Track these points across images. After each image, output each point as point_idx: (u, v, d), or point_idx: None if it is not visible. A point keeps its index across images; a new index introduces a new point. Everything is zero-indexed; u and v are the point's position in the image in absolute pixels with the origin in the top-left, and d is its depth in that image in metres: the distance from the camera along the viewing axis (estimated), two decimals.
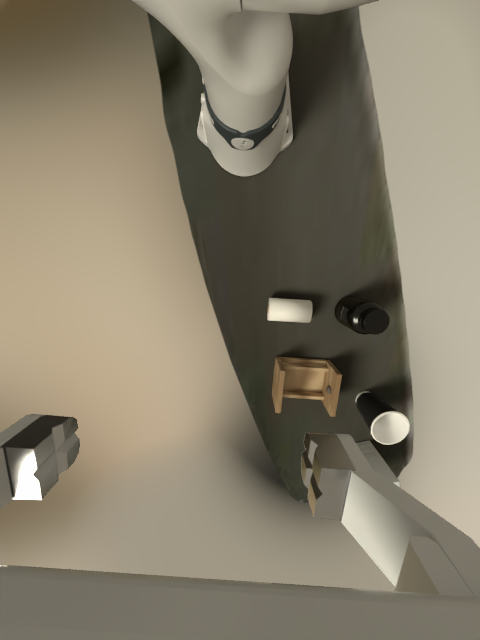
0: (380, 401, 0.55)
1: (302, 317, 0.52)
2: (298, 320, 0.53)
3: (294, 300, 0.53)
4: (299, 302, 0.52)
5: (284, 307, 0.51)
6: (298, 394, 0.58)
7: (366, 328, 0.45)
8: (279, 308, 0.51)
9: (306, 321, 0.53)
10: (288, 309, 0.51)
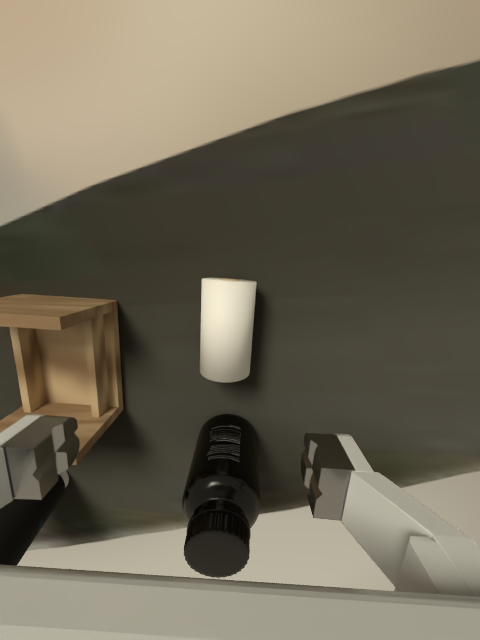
0: (35, 527, 0.25)
1: (211, 361, 0.22)
2: (204, 351, 0.22)
3: (250, 339, 0.23)
4: (246, 351, 0.22)
5: (235, 318, 0.21)
6: (25, 357, 0.24)
7: (198, 536, 0.17)
8: (232, 306, 0.20)
9: (202, 367, 0.23)
10: (230, 329, 0.21)
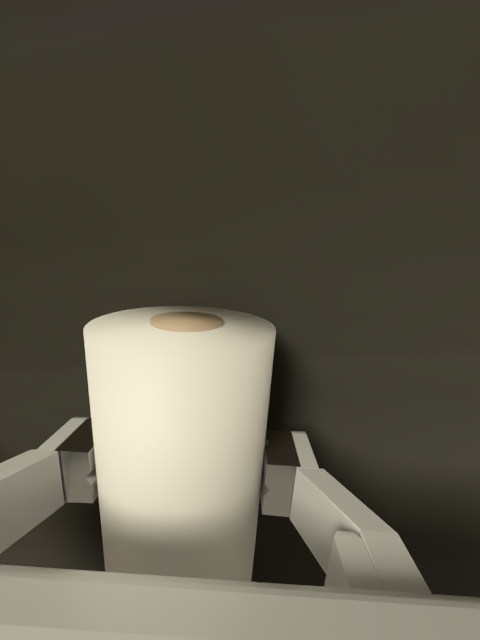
0: None
1: None
2: (106, 557, 0.07)
3: (256, 502, 0.07)
4: (245, 550, 0.07)
5: (203, 483, 0.05)
6: None
7: None
8: (191, 445, 0.05)
9: None
10: (186, 521, 0.05)
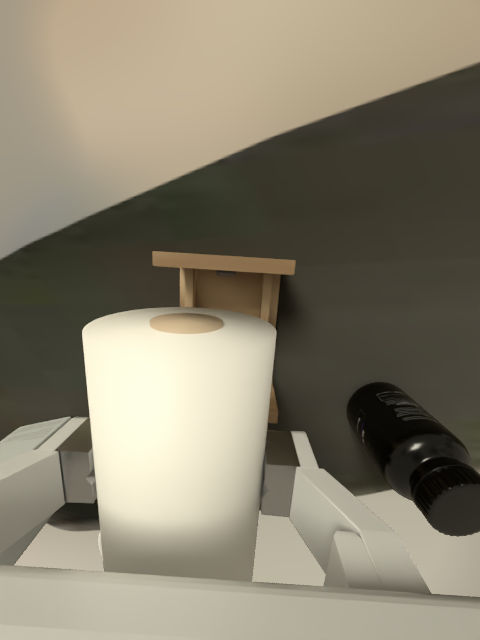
0: None
1: None
2: (105, 560, 0.07)
3: (257, 505, 0.07)
4: (245, 553, 0.07)
5: (203, 487, 0.05)
6: None
7: (452, 490, 0.16)
8: (191, 449, 0.05)
9: None
10: (185, 525, 0.05)
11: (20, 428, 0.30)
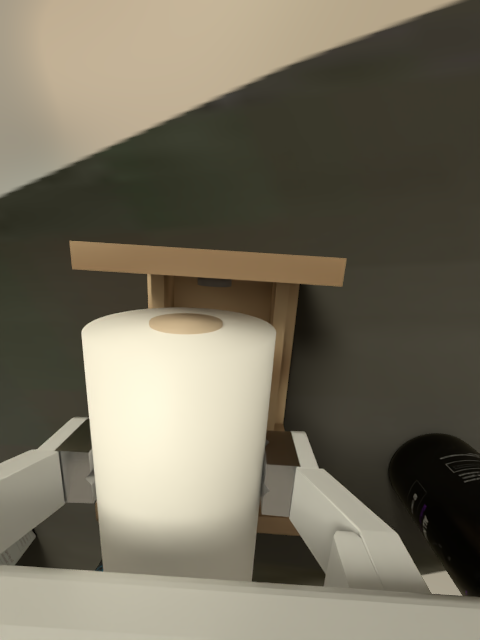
0: None
1: None
2: (104, 561, 0.07)
3: (256, 505, 0.07)
4: (245, 554, 0.07)
5: (203, 487, 0.05)
6: None
7: None
8: (190, 449, 0.05)
9: None
10: (185, 526, 0.05)
11: None
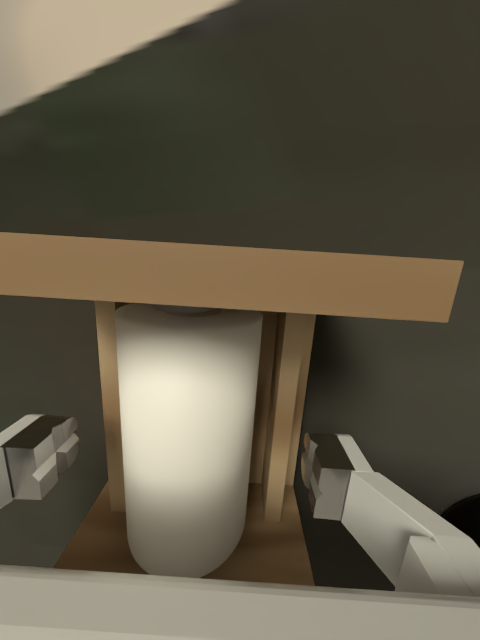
0: None
1: (138, 526, 0.08)
2: (126, 489, 0.09)
3: (245, 461, 0.09)
4: (233, 497, 0.09)
5: (196, 430, 0.07)
6: None
7: None
8: (186, 398, 0.07)
9: None
10: (182, 458, 0.07)
11: None
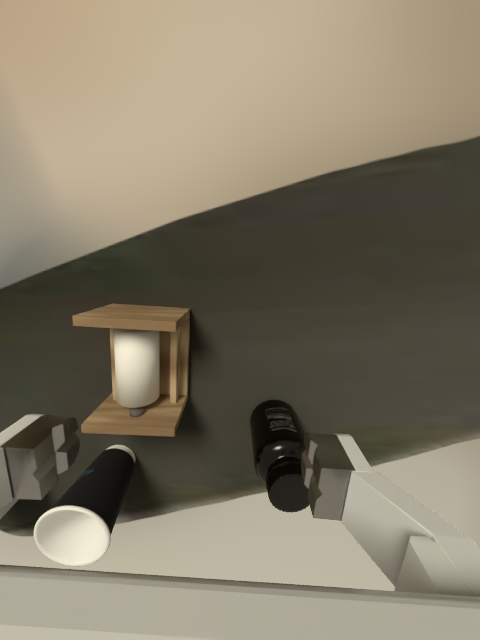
0: (123, 495, 0.31)
1: (118, 390, 0.28)
2: None
3: (151, 374, 0.29)
4: (146, 384, 0.28)
5: (131, 359, 0.27)
6: None
7: (281, 479, 0.24)
8: (128, 350, 0.27)
9: (116, 393, 0.29)
10: (128, 367, 0.27)
11: None
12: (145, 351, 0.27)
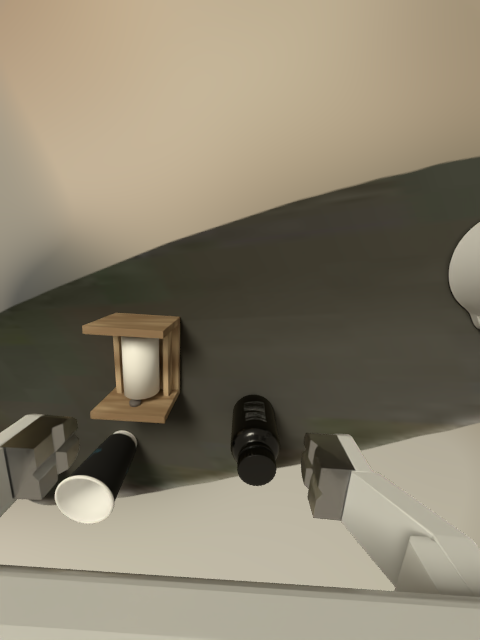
0: (125, 471, 0.37)
1: (128, 386, 0.34)
2: (124, 379, 0.34)
3: (155, 371, 0.35)
4: (152, 379, 0.35)
5: (141, 360, 0.33)
6: (120, 355, 0.36)
7: (247, 458, 0.29)
8: (138, 353, 0.33)
9: (124, 390, 0.35)
10: (138, 366, 0.33)
11: None
12: (151, 352, 0.34)
